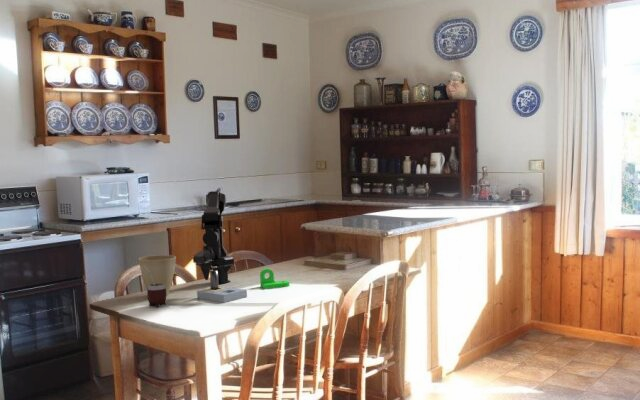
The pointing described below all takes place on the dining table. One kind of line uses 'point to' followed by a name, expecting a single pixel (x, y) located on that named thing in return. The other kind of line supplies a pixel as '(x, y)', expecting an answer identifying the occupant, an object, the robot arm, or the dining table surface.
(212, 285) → the pin
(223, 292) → the socket board
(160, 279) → the plant pot
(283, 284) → the mechanical part
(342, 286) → the dining table surface
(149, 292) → the mate gourd
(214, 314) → the dining table surface
